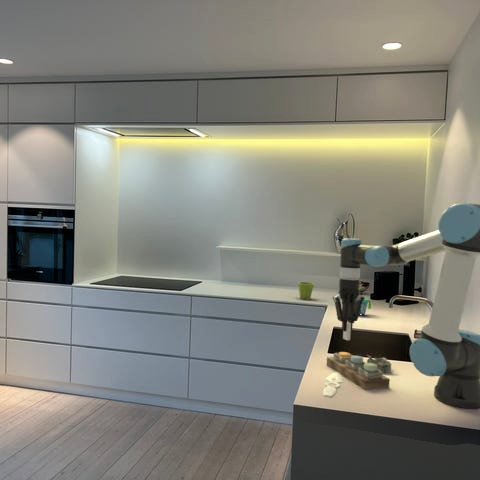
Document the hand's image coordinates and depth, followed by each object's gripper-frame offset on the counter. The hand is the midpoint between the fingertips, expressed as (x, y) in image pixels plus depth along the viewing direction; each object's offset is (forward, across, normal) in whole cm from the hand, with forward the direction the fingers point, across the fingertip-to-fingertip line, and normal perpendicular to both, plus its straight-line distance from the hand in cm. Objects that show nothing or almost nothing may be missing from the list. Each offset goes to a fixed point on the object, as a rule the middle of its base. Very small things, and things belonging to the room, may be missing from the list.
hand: (346, 339), depth 179 cm
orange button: (+8, 0, -1) cm, 8 cm away
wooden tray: (+12, 0, +8) cm, 14 cm away
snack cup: (+10, -63, -87) cm, 108 cm away
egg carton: (+12, -14, +2) cm, 19 cm away
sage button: (+7, 0, +16) cm, 18 cm away
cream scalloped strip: (+12, +12, +13) cm, 21 cm away
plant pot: (+9, -52, -137) cm, 147 cm away
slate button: (+7, 0, +8) cm, 11 cm away
